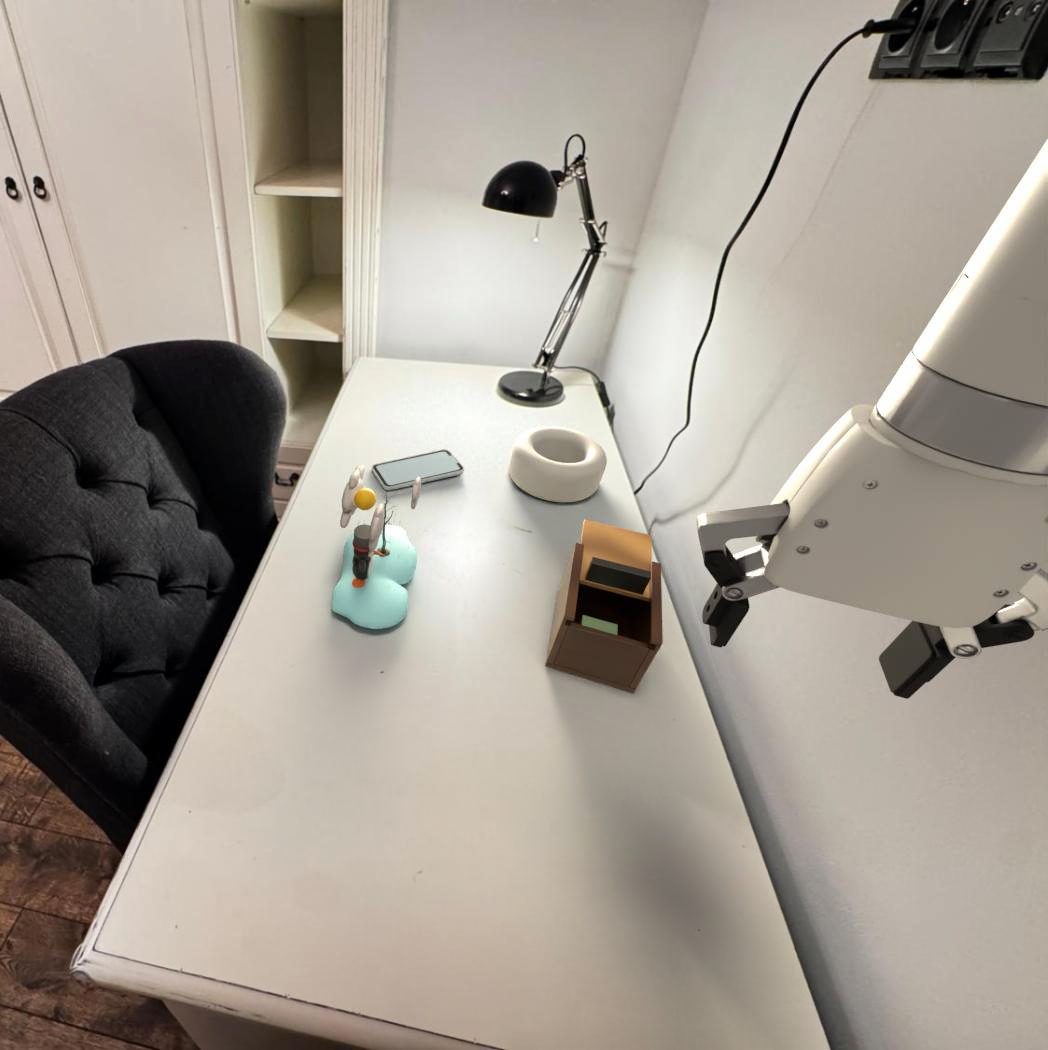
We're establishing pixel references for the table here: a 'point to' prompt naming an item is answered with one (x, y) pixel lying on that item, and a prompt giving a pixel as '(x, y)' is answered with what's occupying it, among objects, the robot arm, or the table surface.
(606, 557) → the lid
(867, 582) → the robot arm
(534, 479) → the fat ring
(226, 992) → the table surface
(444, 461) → the smartphone
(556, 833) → the table surface
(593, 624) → the block
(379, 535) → the penguin figurine
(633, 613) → the box
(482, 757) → the table surface
